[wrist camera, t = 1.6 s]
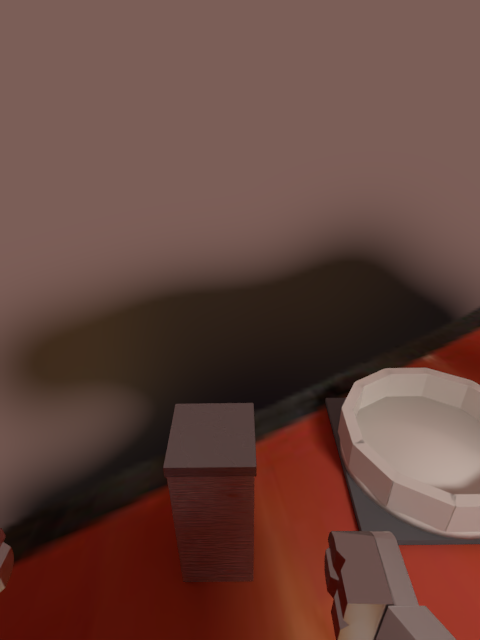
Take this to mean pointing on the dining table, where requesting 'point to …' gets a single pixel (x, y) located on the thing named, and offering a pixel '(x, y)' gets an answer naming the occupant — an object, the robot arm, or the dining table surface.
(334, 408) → the mat
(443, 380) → the bowl
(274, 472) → the dining table surface
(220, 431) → the tin
